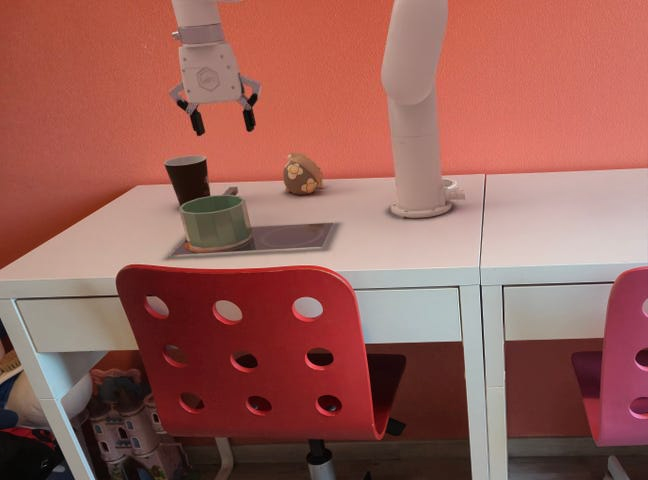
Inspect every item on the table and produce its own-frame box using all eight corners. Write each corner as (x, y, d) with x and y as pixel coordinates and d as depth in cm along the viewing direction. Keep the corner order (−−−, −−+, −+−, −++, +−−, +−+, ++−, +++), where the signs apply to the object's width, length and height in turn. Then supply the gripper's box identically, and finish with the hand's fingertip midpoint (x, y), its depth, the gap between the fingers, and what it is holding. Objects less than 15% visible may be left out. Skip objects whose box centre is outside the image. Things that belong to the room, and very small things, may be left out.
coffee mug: (203, 212, 152) (192, 165, 147) (167, 211, 154) (155, 165, 149) (230, 196, 162) (220, 152, 157) (196, 196, 164) (186, 152, 159)
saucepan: (267, 214, 147) (260, 180, 144) (243, 248, 129) (235, 211, 126) (212, 217, 147) (204, 184, 143) (181, 252, 129) (171, 215, 126)
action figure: (340, 165, 168) (329, 180, 154) (311, 198, 171) (298, 215, 158) (307, 134, 165) (293, 146, 151) (278, 168, 168) (261, 183, 155)
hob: (335, 224, 141) (335, 221, 140) (324, 249, 128) (323, 247, 128) (193, 232, 140) (193, 229, 140) (168, 258, 128) (167, 255, 128)
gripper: (147, 42, 125) (175, 140, 134) (244, 34, 125) (266, 133, 134) (162, 38, 132) (188, 132, 140) (254, 30, 132) (274, 125, 140)
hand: (226, 132), depth 137 cm, fingers open, 9 cm apart
